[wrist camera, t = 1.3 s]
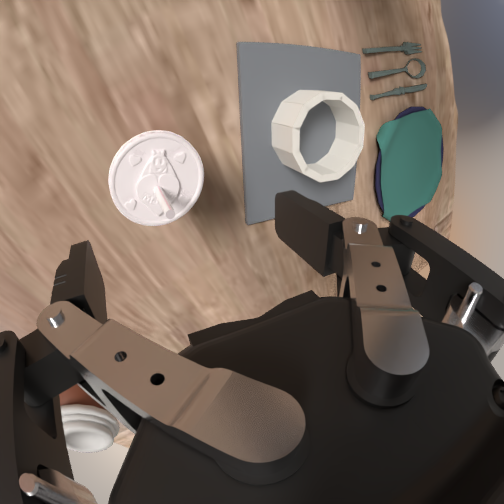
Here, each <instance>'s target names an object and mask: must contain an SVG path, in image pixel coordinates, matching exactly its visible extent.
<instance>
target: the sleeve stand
mask: <svg viewBox="0 0 504 504" xmlns="http://www.w3.org/2000/svg"><path fill="white" fill-rule="evenodd" d="M237 64H238V85H239V105H240V125H241V145H242V164H243V184H244V202H245V221H246V224H247V225H250V224H254V223H258V222H262V221H266V220H270V219H274V218H275V195H276V194H277V193H279V192H284V191H289V190H294V191H296V192H298V193H300V194H301V195H303V196H305V197H307V198H308V199H311V200H314V201H316V202H318V203H320V204H322V205H323V206H327V205H332V204H336V203H340V202H345V201H349V200H353V195H354V186H355V175H356V164H357V159H358V157H359V154H360V152H361V150H362V148H363V147H362V146H363V142H364V126H365V125H364V122H363V119H362V116H361V114H360V74H361V67H360V54H355V53H349V52H344V51H338V50H332V49H325V48H318V47H311V46H302V45H292V44H279V43H262V42H237Z"/></svg>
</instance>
